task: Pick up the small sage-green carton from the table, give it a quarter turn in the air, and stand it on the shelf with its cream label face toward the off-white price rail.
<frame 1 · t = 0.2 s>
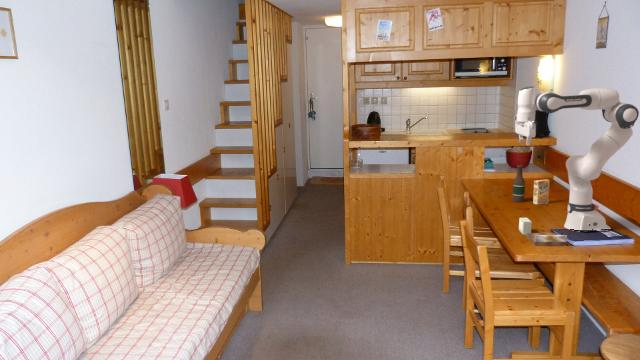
hand: (524, 144, 277), 47 cm above the table, tool pointing down, fingers open, 8 cm apart
carton: (524, 232, 280), on the table
candy box: (540, 203, 336), on the table
shelf: (545, 241, 265), on the table
beer bottle: (518, 201, 344), on the table
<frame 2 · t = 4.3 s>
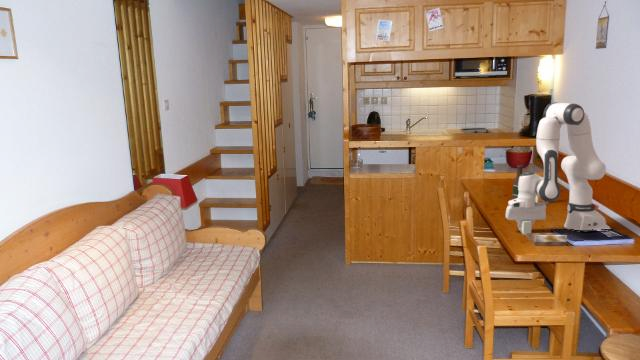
hand: (525, 227, 279), 3 cm above the table, tool pointing down, fingers closed on carton, 4 cm apart
carton: (524, 232, 280), on the table, touching gripper
everything else where it was.
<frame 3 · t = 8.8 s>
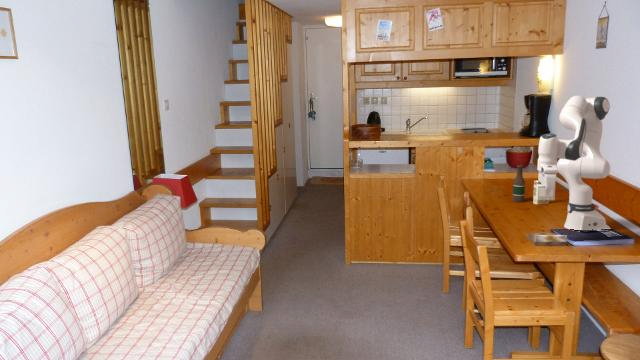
hand: (545, 193, 261), 24 cm above the table, tool pointing down, fingers closed on carton, 4 cm apart
carton: (545, 198, 262), point 22 cm above the table, touching gripper
everything else where it was.
when the fingers open (6 cm above the table, at t = 13.3 s): carton drops 1 cm, resting on shelf.
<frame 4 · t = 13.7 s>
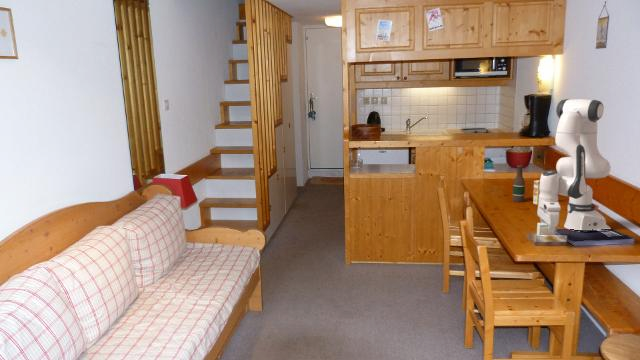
hand: (546, 229, 263), 6 cm above the table, tool pointing down, fingers open, 8 cm apart
carton: (546, 237, 264), point 2 cm above the table, touching shelf
everything else where it was.
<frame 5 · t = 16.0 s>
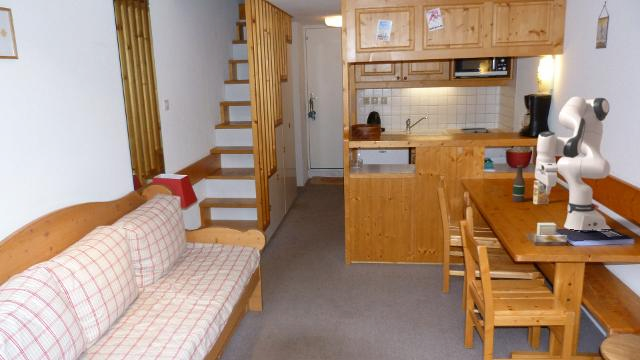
hand: (544, 191, 263), 25 cm above the table, tool pointing down, fingers open, 8 cm apart
nothing on the table moved.
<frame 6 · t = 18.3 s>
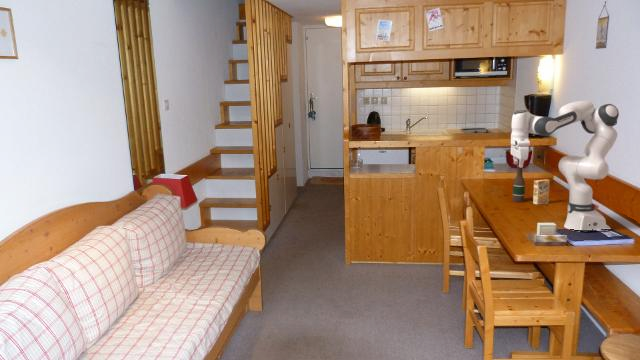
hand: (518, 165, 284), 34 cm above the table, tool pointing down, fingers open, 8 cm apart
nothing on the table moved.
at the end: carton inside the target area on the shelf (0.2 cm from its centre), point 2.0 cm above the shelf's base; carton tilted 0°; the gripper is holding nothing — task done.
